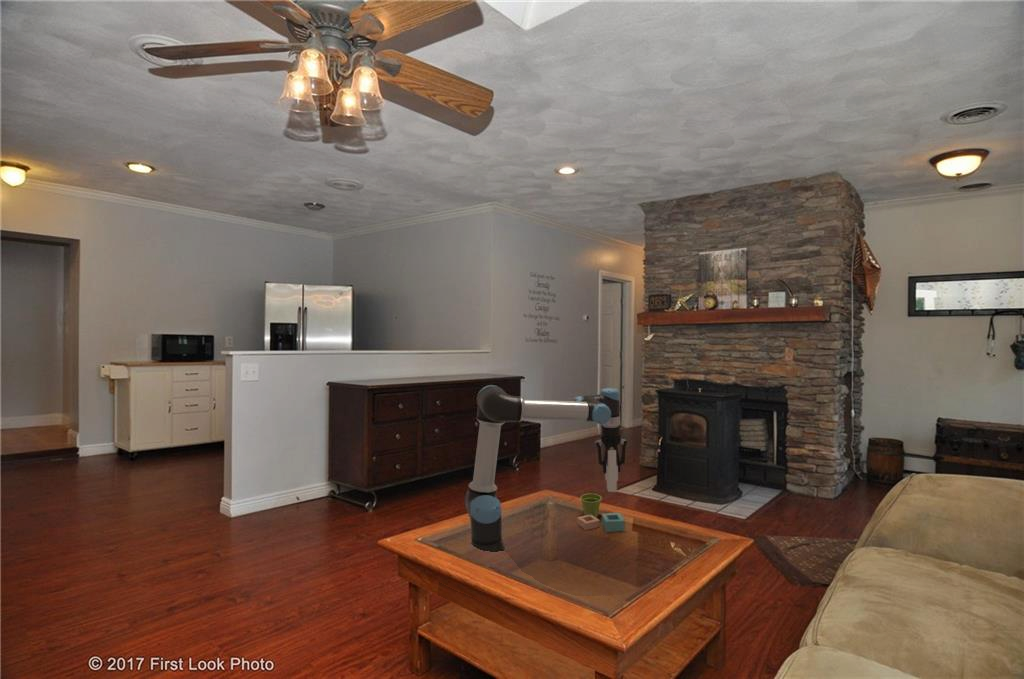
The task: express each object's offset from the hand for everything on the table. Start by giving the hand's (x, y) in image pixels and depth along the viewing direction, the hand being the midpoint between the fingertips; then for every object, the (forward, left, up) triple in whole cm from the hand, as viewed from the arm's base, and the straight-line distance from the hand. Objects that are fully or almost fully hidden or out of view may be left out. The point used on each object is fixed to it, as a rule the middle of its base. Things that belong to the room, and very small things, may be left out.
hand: (611, 479), depth 234 cm
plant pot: (-6, +13, -22) cm, 26 cm away
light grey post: (0, 0, -5) cm, 5 cm away
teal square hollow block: (+1, +1, -21) cm, 21 cm away
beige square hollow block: (-9, +4, -21) cm, 24 cm away
